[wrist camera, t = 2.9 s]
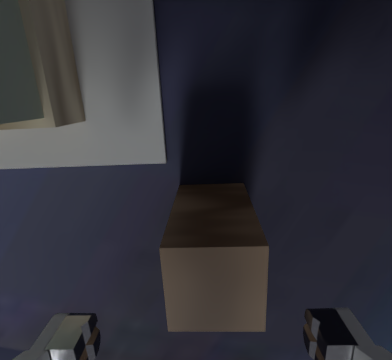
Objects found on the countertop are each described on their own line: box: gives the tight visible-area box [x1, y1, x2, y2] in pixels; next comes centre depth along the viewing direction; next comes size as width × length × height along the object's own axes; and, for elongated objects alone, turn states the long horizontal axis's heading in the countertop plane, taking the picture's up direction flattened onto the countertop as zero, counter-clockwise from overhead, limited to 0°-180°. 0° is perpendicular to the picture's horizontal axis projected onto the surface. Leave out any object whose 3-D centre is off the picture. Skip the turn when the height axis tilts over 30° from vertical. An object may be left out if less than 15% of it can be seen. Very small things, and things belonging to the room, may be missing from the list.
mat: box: [0, 0, 167, 169], centre depth 16 cm, size 18×14×1 cm
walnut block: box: [159, 183, 269, 332], centre depth 15 cm, size 4×4×8 cm
